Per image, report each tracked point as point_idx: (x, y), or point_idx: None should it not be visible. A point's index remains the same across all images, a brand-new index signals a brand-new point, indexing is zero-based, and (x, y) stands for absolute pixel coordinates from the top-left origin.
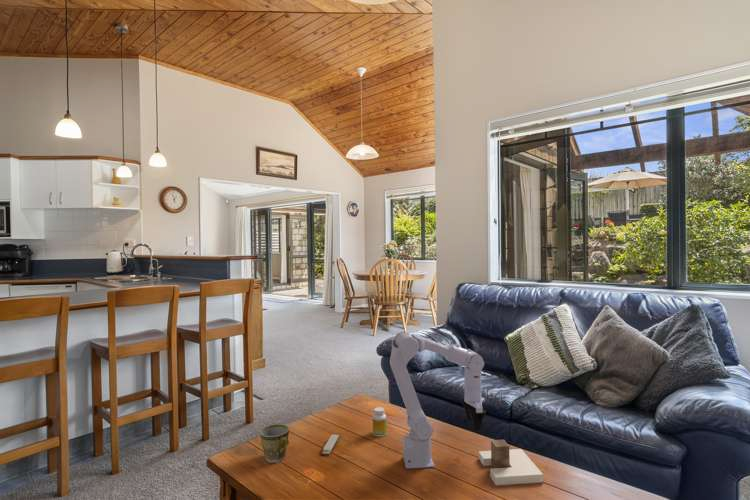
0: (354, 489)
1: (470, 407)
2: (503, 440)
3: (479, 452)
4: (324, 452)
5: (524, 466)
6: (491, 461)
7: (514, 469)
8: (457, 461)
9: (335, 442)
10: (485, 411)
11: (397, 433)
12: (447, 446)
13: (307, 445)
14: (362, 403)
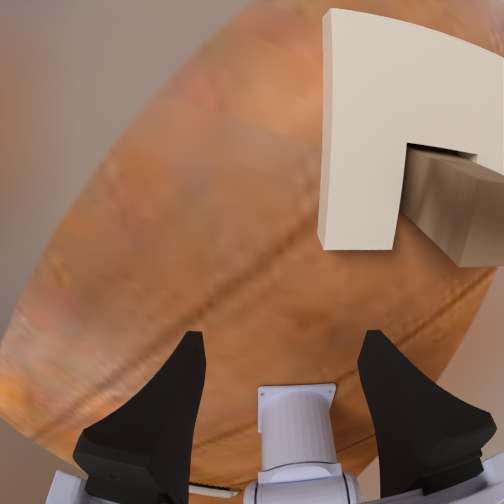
0: (357, 467)
1: (181, 438)
2: (487, 190)
3: (332, 249)
4: (235, 495)
5: (481, 97)
6: (407, 215)
7: (490, 154)
8: (318, 319)
9: (196, 486)
10: (487, 431)
11: None
12: (195, 326)
13: (201, 497)
14: (9, 414)
